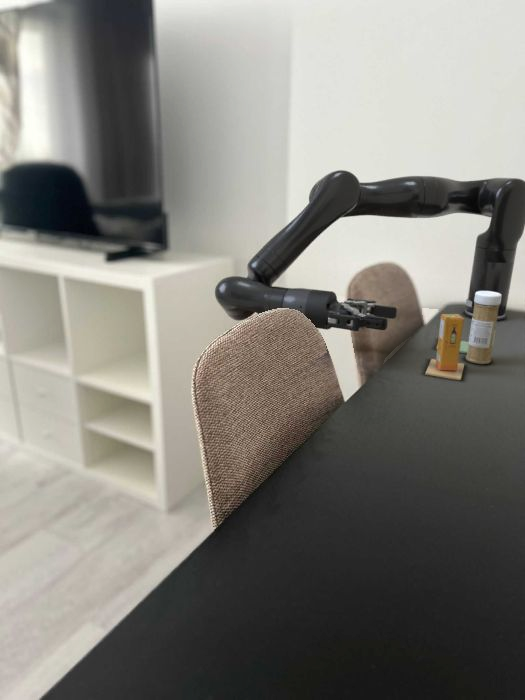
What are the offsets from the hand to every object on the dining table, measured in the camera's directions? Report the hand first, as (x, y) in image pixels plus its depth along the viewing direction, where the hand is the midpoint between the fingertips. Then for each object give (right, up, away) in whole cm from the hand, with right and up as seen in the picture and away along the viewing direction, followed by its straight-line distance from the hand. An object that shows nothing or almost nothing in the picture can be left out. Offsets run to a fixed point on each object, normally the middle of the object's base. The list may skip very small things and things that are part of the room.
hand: (391, 318), depth 95 cm
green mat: (+16, -5, +12) cm, 20 cm away
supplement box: (+10, -9, -1) cm, 13 cm away
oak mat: (+10, -10, -1) cm, 14 cm away
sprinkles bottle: (+18, -8, +4) cm, 20 cm away
